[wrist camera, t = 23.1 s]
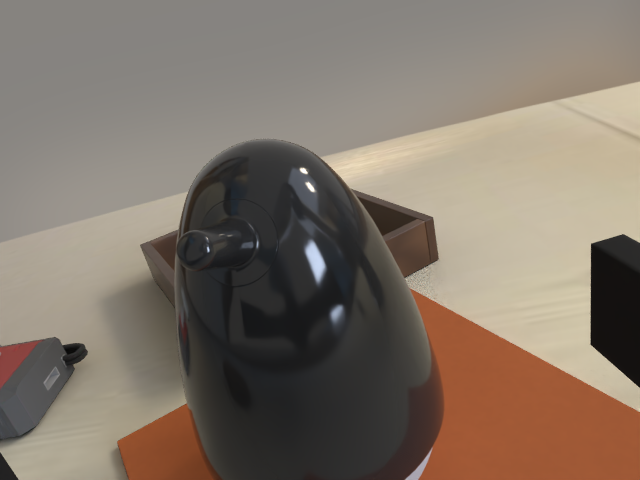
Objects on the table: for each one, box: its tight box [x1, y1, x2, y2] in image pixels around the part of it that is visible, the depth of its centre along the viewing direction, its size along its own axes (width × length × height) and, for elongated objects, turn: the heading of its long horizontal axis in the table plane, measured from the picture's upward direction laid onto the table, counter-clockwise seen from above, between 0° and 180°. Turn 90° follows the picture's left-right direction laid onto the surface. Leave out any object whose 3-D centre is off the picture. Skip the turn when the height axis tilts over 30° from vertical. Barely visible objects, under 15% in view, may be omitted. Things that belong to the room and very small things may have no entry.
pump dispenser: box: [174, 139, 445, 480], centre depth 20 cm, size 10×10×15 cm
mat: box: [117, 289, 640, 480], centre depth 24 cm, size 20×20×1 cm
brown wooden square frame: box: [140, 189, 439, 307], centre depth 42 cm, size 18×18×4 cm
